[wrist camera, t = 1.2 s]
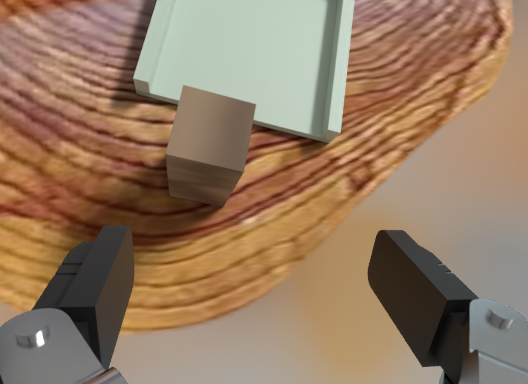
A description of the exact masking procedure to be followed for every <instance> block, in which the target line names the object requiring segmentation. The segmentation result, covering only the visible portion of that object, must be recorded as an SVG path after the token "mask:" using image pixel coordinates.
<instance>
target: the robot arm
mask: <svg viewBox="0 0 528 384" xmlns="http://www.w3.org/2000/svg"><path fill="white" fill-rule="evenodd" d="M368 281H369V284H370V286H371V288H372V289H373V291H374V293H375V294H376V296H377V298H378V299H379V301H380V302H381V304H382V305H383V307H384V308H385V310H386V311H387V313H388V314H389V316H390V317H391V319H392V321H393V322H394V324H395V325H396V327H397V328H398V330H399V331H400V333H401V334H402V336H403V338H404V339H405V341H406V342H407V344H408V345H409V347H410V348H411V350H412V352H413V353H414V354H415V356H416V358H417V359H418V361H419V362H420V364H421V365H422V367H429V366H441V367H442V369H443V372H442V374H441V377H440V380H439V384H528V321H527V320H526V318H525V317H523V316H522V315H521V314H520V313H519V312H517V311H516V310H514V309H513V308H511V307H509V306H507V305H505V304H502V303H500V302H497V301H494V300H489V299H479V298H478V297H477V296H476V295H475V294H474V293H473V292H472V291H471V290H470V289H469V288H468V287H467V286H466V285H465V284H464V283H463V282H461V280H459V278H457V277H456V276H455V275H454V274H453V273H451V271H450V270H449V269H448V268H447V267H446V266H445V265H443V264H442V262H441V261H440V260H439V259H438V258H437V257H436V256H435V255H434V254H433V253H431V252H429V251H428V250H426V249H424V248H423V247H421V246H419V245H418V244H417V243H416V242H415V241H414V240H413V239H412V238H411V237H410V236H409V235H408V234H407V233H406V232H405V231H403V230H380V231H379V232H378V234H377V236H376V239H375V243H374V247H373V251H372V255H371V259H370V263H369V267H368ZM133 282H134V257H133V239H132V229H131V226H110V225H105V226H103V227H102V229H101V231H100V233H99V235H98V236H97V238H96V240H95V242H82V243H81V244H80V245H78V246H77V247H75V248H74V249H72V250H71V251H70V252H69V253H68V255H67V256H66V258H65V259H64V261H63V262H62V266H60V267H59V268H58V270H57V272H56V274H55V276H53V278H52V279H51V281H50V282H49V284H48V286H47V287H46V289H45V290H44V292H43V293H42V295H41V296H40V298H39V300H38V301H37V303H36V304H35V306H34V307H33V309H32V310H31V311H28V312H25V313H22V314H20V315H18V316H16V317H14V318H12V319H10V320H9V321H7V322H6V323H4V324H3V325H2V326H1V327H0V384H128V383H127V381H126V380H125V379H124V377H123V376H122V374H121V373H120V372H119V371H118V370H117V369H116V368H114V367H111V368H110V369H108V368H109V365H110V362H111V358H112V355H113V352H114V348H115V345H116V342H117V338H118V335H119V332H120V328H121V325H122V322H123V318H124V315H125V312H126V308H127V305H128V302H129V298H130V295H131V292H132V288H133Z"/></svg>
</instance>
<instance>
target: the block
mask: <svg viewBox="0 0 528 384" xmlns="http://www.w3.org/2000/svg"><path fill="white" fill-rule="evenodd" d="M255 109H256V104H254V103H250V102H246V101H242V100H239V99H235V98H231V97H227V96H224V95H220V94H216V93H212V92H209V91H205V90H201V89H197V88H194V87H190V86H186V85H183V88H182V92H181V96H180V100H179V104H178V108H177V111H176V115H175V119H174V123H173V127H172V131H171V135H170V139H169V142H168V146H167V150H166V164H167V174H168V185H169V195H170V196H172V197H176V198H181V199H186V200H191V201H196V202H200V203H205V204H210V205H215V206H219V207H224V205H225V203H226V201H227V200H228V198H229V196H230V195H231V193H232V191H233V189H234V188H235V186H236V184H237V183H238V181H239V179H240V177H241V176H242V174H243V172H244V168H245V162H246V157H247V152H248V146H249V141H250V136H251V130H252V125H253V120H254V114H255Z"/></svg>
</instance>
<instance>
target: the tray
mask: <svg viewBox="0 0 528 384" xmlns="http://www.w3.org/2000/svg"><path fill="white" fill-rule="evenodd" d="M353 9H354V0H157V2H156V5H155V8H154V12H153V15H152V18H151V21H150V25H149V28H148V31H147V34H146V38H145V41H144V44H143V47H142V51H141V54H140V57H139V60H138V64H137V67H136V70H135V73H134V77H133V80H134V85H135V90H136V94H138V95H142V96H146V97H150V98H154V99H158V100H161V101H165V102H169V103H173V104H177V105H178V104H179V100H180V96H181V92H182V88H183V85H186V86H190V87H194V88H197V89H201V90H205V91H209V92H212V93H216V94H220V95H224V96H227V97H231V98H235V99H239V100H242V101H246V102H250V103H254V104H256V109H255V114H254V120H253V124H255V125H259V126H263V127H267V128H271V129H275V130H279V131H283V132H287V133H291V134H294V135H298V136H302V137H306V138H310V139H314V140H318V141H322V142H326V143H330V142H331V141H332V140H333V139H334V138H335V137H337V136H338V135H339V134H340V133H341V123H342V114H343V104H344V95H345V85H346V76H347V66H348V57H349V47H350V38H351V28H352V19H353Z"/></svg>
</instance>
